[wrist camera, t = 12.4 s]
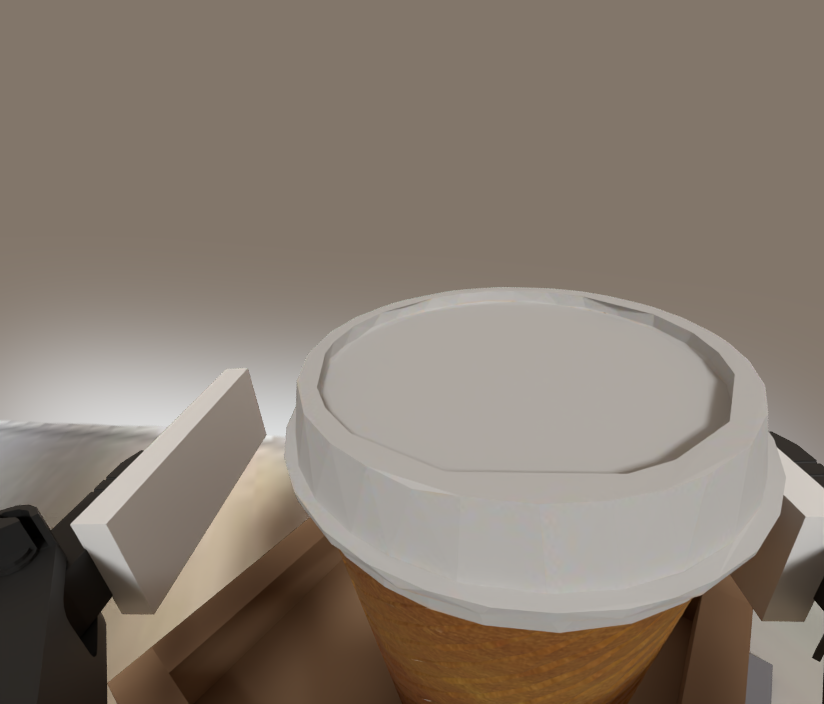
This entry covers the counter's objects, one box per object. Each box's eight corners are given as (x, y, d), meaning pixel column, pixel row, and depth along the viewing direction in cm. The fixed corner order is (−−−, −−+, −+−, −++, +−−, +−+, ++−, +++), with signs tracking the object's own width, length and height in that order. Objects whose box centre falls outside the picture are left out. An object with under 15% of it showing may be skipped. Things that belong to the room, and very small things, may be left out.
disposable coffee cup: (292, 724, 13) (166, 396, 8) (450, 519, 20) (437, 270, 15) (623, 1075, 8) (883, 772, 3) (684, 633, 15) (791, 307, 9)
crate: (161, 763, 15) (107, 682, 13) (418, 502, 25) (412, 433, 23) (602, 1585, 6) (659, 1761, 4) (722, 662, 16) (755, 575, 14)
